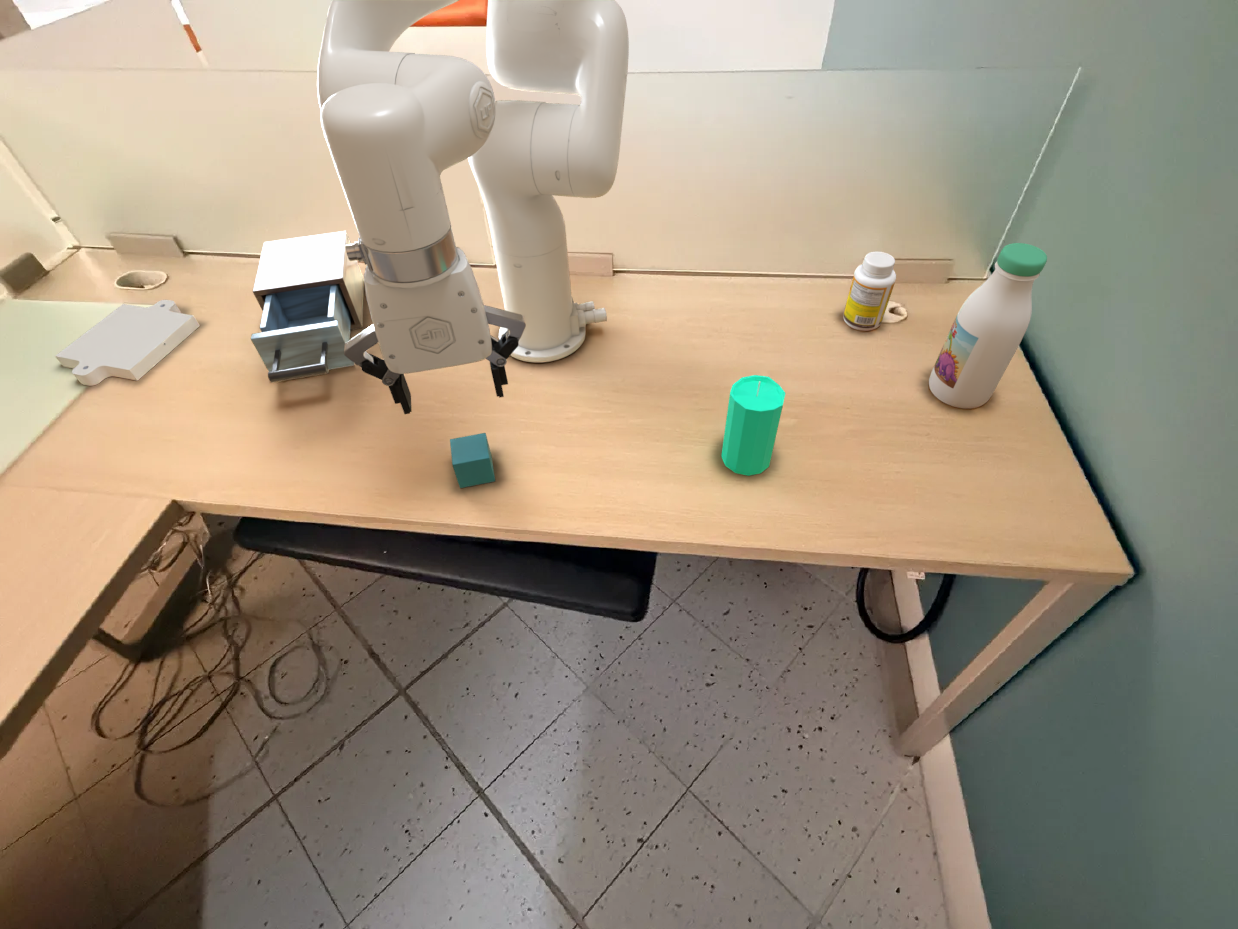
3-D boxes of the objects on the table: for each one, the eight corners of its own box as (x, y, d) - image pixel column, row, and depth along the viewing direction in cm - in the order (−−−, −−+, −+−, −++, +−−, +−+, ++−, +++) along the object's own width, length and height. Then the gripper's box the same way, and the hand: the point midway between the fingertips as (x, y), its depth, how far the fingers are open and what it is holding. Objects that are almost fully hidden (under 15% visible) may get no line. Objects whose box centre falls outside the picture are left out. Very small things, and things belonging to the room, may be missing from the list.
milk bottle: (991, 379, 87) (1065, 242, 72) (987, 417, 82) (1064, 278, 67) (931, 365, 89) (990, 228, 74) (923, 400, 84) (984, 262, 69)
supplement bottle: (864, 306, 98) (883, 244, 91) (889, 326, 95) (910, 263, 87) (834, 315, 97) (850, 253, 89) (857, 336, 93) (876, 273, 86)
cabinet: (362, 328, 98) (342, 278, 91) (278, 341, 96) (252, 291, 90) (364, 279, 107) (346, 230, 100) (287, 290, 105) (263, 241, 98)
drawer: (353, 393, 87) (335, 352, 82) (267, 407, 85) (244, 367, 80) (356, 313, 99) (341, 274, 94) (281, 325, 97) (262, 286, 92)
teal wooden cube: (491, 456, 80) (485, 432, 77) (495, 481, 77) (489, 457, 74) (457, 462, 79) (449, 438, 76) (459, 488, 77) (452, 464, 73)
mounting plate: (124, 392, 89) (115, 382, 88) (49, 377, 92) (39, 367, 90) (210, 316, 101) (204, 305, 99) (142, 304, 103) (135, 294, 102)
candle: (739, 482, 76) (752, 408, 67) (711, 449, 80) (720, 374, 71) (781, 464, 78) (799, 389, 69) (752, 432, 81) (766, 357, 72)
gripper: (304, 288, 53) (369, 436, 65) (517, 257, 55) (540, 405, 68) (310, 242, 57) (370, 388, 70) (506, 215, 60) (529, 361, 73)
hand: (454, 396), depth 69 cm, fingers open, 9 cm apart
